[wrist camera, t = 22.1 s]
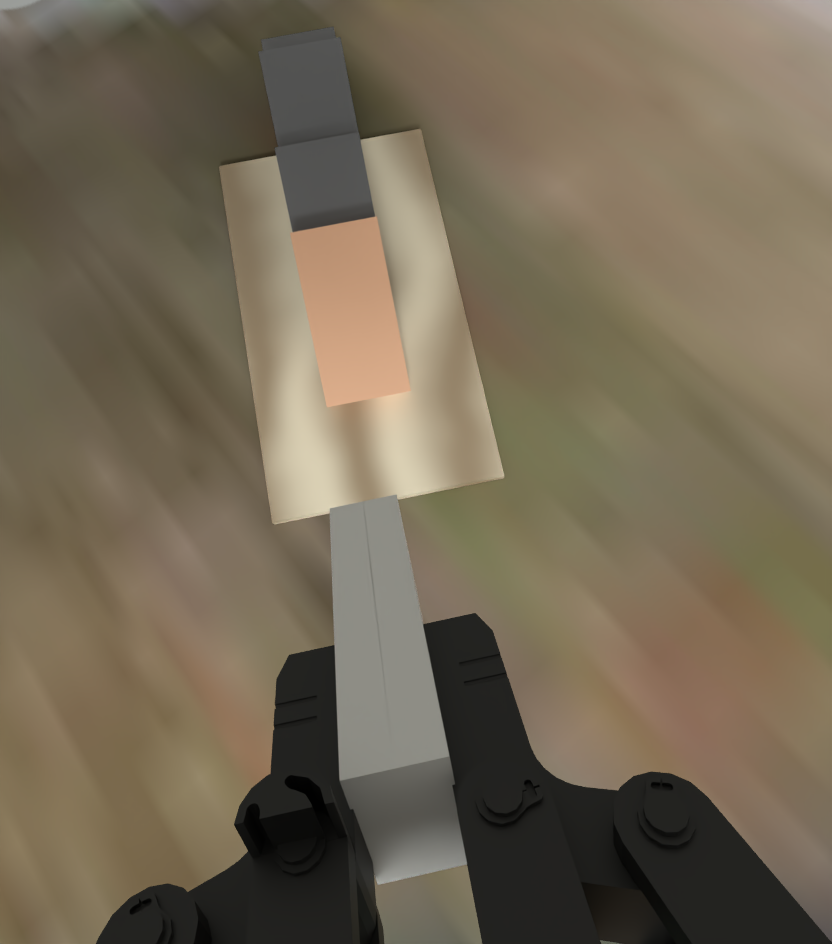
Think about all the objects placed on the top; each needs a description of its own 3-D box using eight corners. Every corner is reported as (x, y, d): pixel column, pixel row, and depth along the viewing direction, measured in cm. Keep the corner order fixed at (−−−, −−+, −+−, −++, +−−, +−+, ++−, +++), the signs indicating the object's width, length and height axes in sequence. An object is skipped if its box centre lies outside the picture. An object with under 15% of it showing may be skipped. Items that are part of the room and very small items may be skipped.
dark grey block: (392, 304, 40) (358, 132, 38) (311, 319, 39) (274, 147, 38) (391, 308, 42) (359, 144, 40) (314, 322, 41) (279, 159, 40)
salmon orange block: (410, 390, 38) (376, 216, 37) (326, 407, 38) (290, 232, 37) (409, 391, 40) (377, 225, 39) (329, 406, 40) (294, 241, 39)
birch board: (274, 524, 39) (272, 522, 38) (221, 172, 45) (218, 166, 44) (503, 478, 39) (504, 476, 39) (420, 135, 45) (420, 128, 45)
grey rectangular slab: (372, 207, 41) (340, 37, 39) (293, 222, 41) (258, 51, 39) (373, 216, 43) (342, 53, 41) (297, 230, 43) (264, 67, 41)
